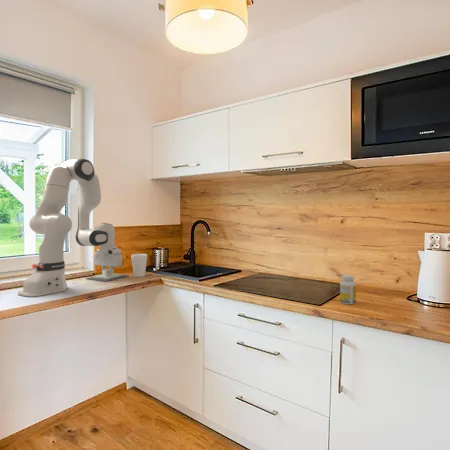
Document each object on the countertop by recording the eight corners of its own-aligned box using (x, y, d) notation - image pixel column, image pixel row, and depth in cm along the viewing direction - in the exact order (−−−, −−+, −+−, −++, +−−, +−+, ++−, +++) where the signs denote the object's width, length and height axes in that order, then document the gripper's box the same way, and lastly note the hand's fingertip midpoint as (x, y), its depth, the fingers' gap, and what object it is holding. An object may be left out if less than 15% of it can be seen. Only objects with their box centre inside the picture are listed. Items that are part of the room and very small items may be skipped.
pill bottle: (354, 301, 148) (355, 275, 148) (356, 305, 142) (357, 277, 142) (339, 300, 150) (339, 274, 150) (340, 304, 144) (340, 277, 143)
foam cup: (130, 275, 209) (130, 254, 208) (145, 273, 213) (145, 253, 212) (133, 277, 200) (132, 256, 200) (148, 276, 204) (148, 255, 204)
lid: (107, 279, 193) (107, 272, 193) (92, 277, 199) (92, 270, 199) (122, 275, 204) (122, 268, 204) (108, 274, 209) (108, 267, 209)
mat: (105, 281, 190) (105, 280, 190) (86, 279, 197) (86, 278, 197) (128, 276, 205) (128, 275, 205) (109, 273, 213) (109, 273, 213)
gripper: (90, 249, 203) (91, 272, 203) (115, 251, 193) (116, 275, 194) (99, 248, 208) (99, 270, 209) (123, 250, 199) (124, 273, 199)
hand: (107, 273), depth 201 cm, fingers closed on lid, 3 cm apart
